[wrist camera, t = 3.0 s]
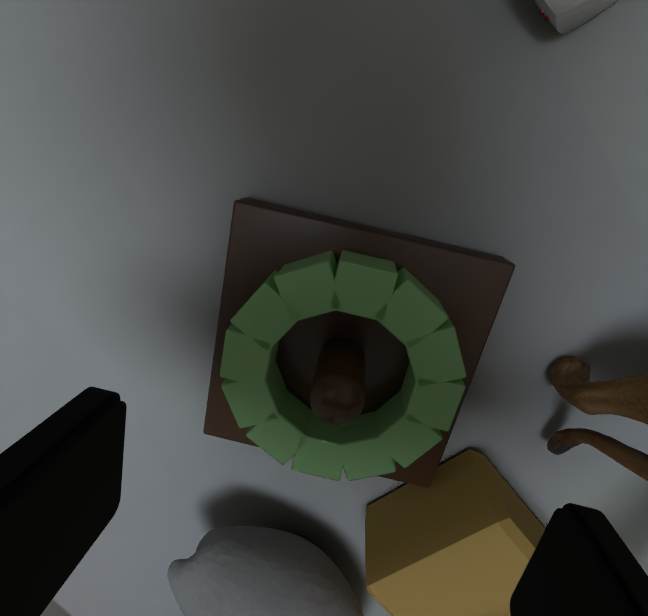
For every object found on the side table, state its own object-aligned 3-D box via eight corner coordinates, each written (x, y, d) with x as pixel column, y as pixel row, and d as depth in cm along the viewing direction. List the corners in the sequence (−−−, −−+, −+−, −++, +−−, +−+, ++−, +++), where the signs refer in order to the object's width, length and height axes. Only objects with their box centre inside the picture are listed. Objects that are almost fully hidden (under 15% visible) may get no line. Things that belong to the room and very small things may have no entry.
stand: (244, 196, 14) (191, 210, 10) (504, 257, 14) (566, 297, 9) (213, 416, 17) (162, 499, 13) (425, 467, 17) (446, 570, 12)
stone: (176, 519, 19) (113, 635, 14) (253, 457, 17) (211, 565, 13) (321, 636, 21) (309, 775, 16) (404, 590, 19) (416, 729, 14)
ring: (253, 228, 13) (238, 236, 11) (484, 282, 13) (500, 297, 11) (223, 422, 15) (208, 450, 14) (416, 469, 15) (422, 502, 14)
